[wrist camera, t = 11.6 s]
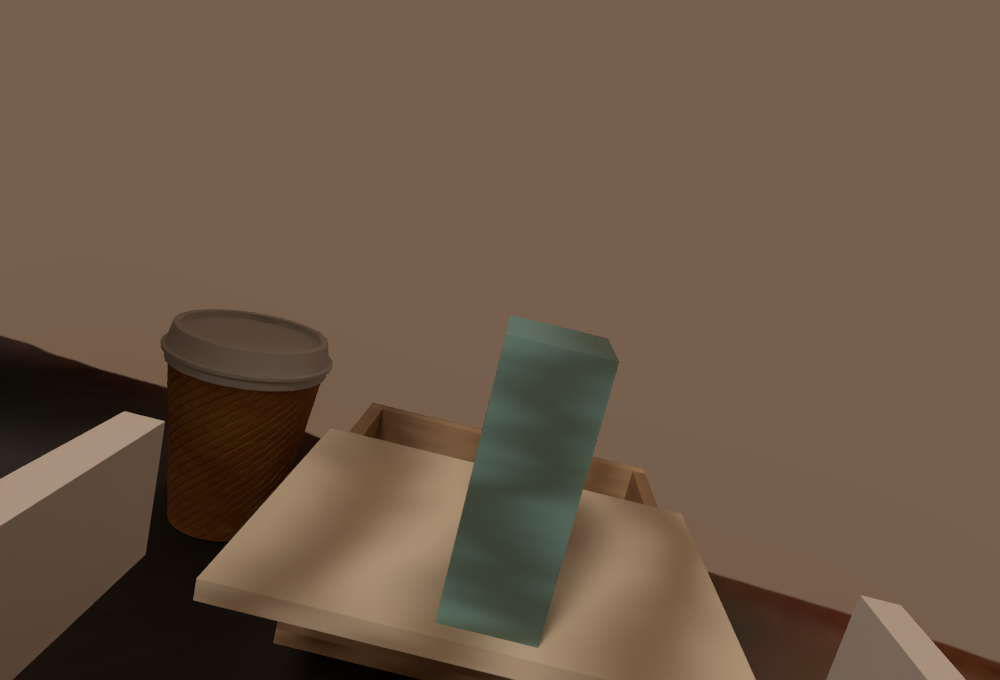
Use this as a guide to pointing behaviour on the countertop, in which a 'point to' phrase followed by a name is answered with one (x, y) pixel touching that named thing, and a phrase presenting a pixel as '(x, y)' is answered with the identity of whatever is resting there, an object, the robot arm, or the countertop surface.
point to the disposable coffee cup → (235, 413)
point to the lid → (488, 542)
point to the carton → (461, 445)
